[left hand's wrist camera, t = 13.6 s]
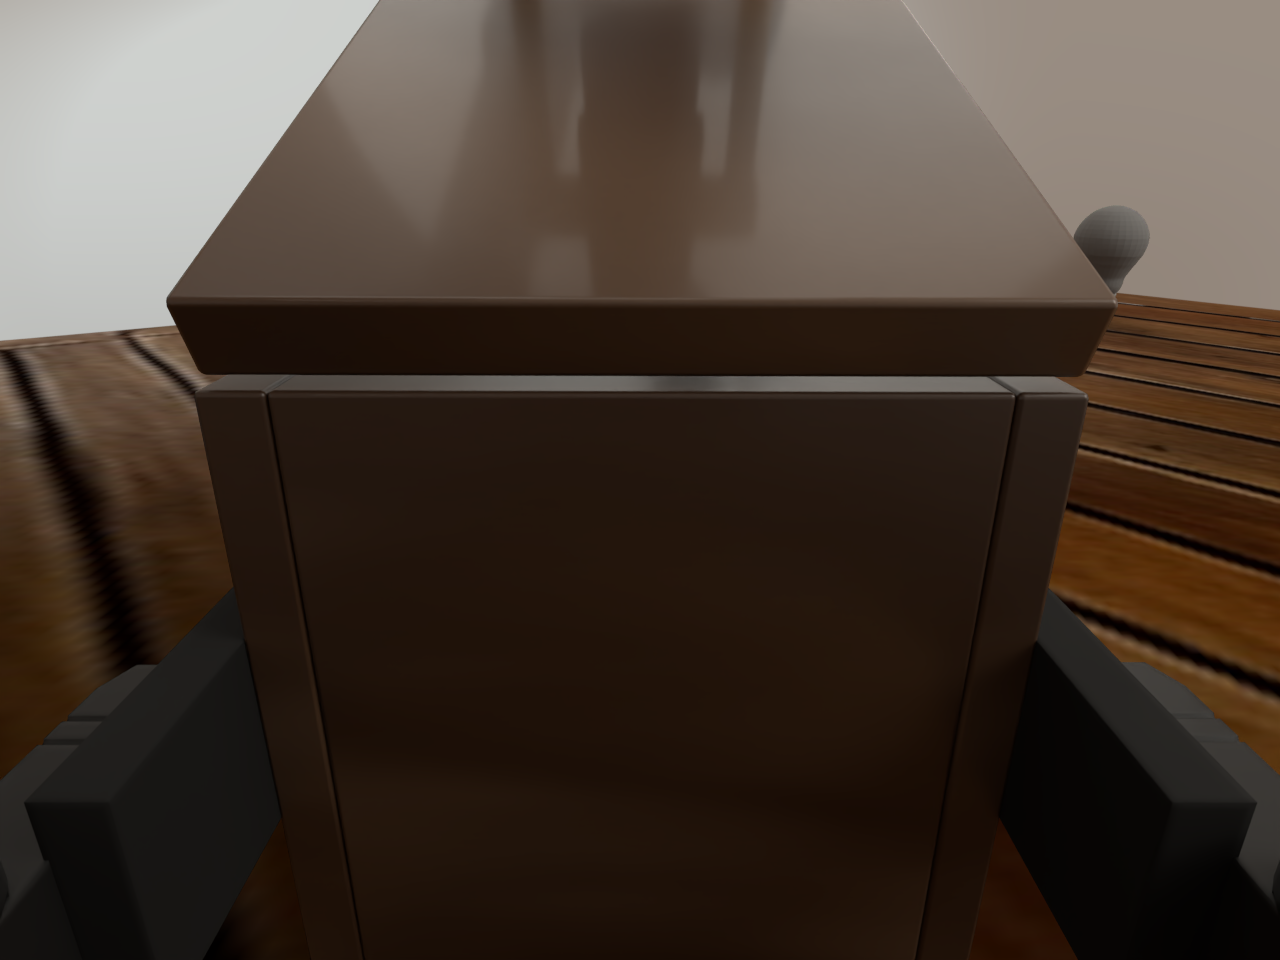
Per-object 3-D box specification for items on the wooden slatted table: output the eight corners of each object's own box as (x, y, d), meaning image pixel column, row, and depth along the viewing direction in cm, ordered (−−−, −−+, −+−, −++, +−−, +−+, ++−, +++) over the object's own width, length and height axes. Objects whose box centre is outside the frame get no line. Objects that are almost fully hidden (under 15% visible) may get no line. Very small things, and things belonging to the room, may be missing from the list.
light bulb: (1073, 323, 74) (1095, 206, 70) (1049, 312, 79) (1069, 204, 75) (1143, 324, 73) (1169, 207, 69) (1114, 313, 78) (1137, 204, 75)
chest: (503, 575, 28) (480, 240, 24) (775, 576, 28) (800, 241, 24) (335, 1088, 13) (190, 390, 8) (942, 1089, 13) (1092, 394, 8)
